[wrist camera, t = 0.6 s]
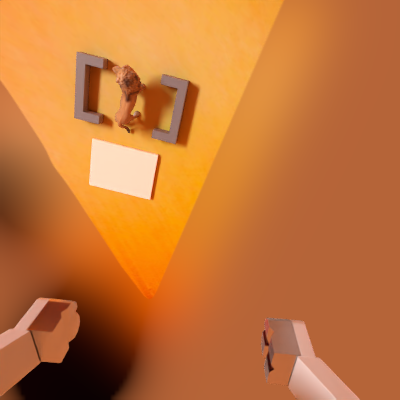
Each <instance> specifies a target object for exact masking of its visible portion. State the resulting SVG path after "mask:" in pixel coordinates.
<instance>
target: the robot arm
mask: <svg viewBox="0 0 400 400" xmlns="http://www.w3.org/2000/svg"><path fill="white" fill-rule="evenodd" d="M76 309H77V304H76V302H74V301H67V300H58V299H49V298H39V299H37V300H36V301H35V303H34V304H33V305H32V307H31V308H30V309H29V310H28V312H27V313H26V314H25V315H24V317H23V318H22V319H21V320H20V322H19V323H18V324H17V326H16V327H15V328H14V329H9V330H7V331H6V332H4V333H2V334H1V335H0V396H1V395H3V394H4V393H5V392H6V391H7V390H9V389H10V388H11V387H12V386H13V385H14V384H16V383H17V382H18V381H19V380H20V379H22V378H23V377H24V376H25V375H26V374H27V373H29V372H30V371H31V370H32V369H33V368H35V367H36V366H37V365H38V364H39V363H40V361H41V362H56V363H61V362H62V360H63V358H64V356H65V354H66V352H67V351H68V349H69V345H68V342H69V341H71V340H72V339H74V337H75V335H76V334H77V332H78V328H79V324H80V318H79V314H77V313H76V312H75V311H76ZM264 325H265V330H264V331H263V333H262V343H261V344H262V355H263V357H264V358H265V359H266V360H265V365H264V369H265V376H266V382H267V383H271V384H279V385H286V386H288V387H289V389H290V391H291V392H292V393H293V395H294V396H295V398H296V399H297V400H360V399H359V398H358V397H357V396H356V395H355V394H354V393H353V392H352V391H351V390H350V389H349V388H348V387H347V386H346V385H345V384H344V383H343V382H342V381H341V380H340V379H339V378H338V376H337V375H335V373H334V372H333V371H332V370H331V369H330V368H329V367H328V366H327V365H326V364H325V363H324V362H323V361H322V360H321V359H320V358H316V357H315V354H314V350H313V347H312V345H311V341H310V338H309V335H308V332H307V329H306V326H305V323H304V322H303V321H297V320H287V319H274V318H266V320H265V324H264Z"/></svg>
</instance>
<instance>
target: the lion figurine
mask: <svg viewBox="0 0 400 400" xmlns="http://www.w3.org/2000/svg"><path fill="white" fill-rule="evenodd" d="M113 71H114V72H115V73H116V77H117V78H116V82H117V83H118V84H119V85H120V87H121V90H122V92H123V93H122V96H121V101H120V109H119V111H118V112H117V113H116V115H115V121H116V122H118V126H119V127H121V128H125V129H126V130H127V131H128V133H130V130H129V128H128V127H126V126H124V124H127V123H129V122H130V121H131V120H134V119H135V118H136V117H138V116H139V115H140V113H139V112H138V111H136V112H135V113H134V115H131V114H130V113H131V111H132V110H133V108H134V106H135V103H136V99H137V95H138V94H139V93H140V92H141V91H142V90H144V89H145V85H144V84H142V83H141V82H140V78H139V77H138V75H137V73H136V72H135V71H134V70H133V69H132V68H131V67H130V66H128V65H125V66H123V67H122V68H120V67H119V66H114V67H113ZM122 124H123V125H122Z"/></svg>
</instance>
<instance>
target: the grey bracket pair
mask: <svg viewBox="0 0 400 400" xmlns="http://www.w3.org/2000/svg"><path fill="white" fill-rule="evenodd" d="M107 64H108V59H105V58H102V57H98V56H94V55H90V54H87V53H83V52H77V59H76V86H75V113H74V118H76V119H80V120H84V121H88V122H92V123H96V124H100V123H102V122H103V114H100V113H97V112H93V111H89V110H88V94H89V76H90V65H91V66H95V67H98V68H102V69H107ZM161 84H162V85H166V86H170V87H173V88H177V89H178V90H177V95H176V100H175V105H174V111H173V116H172V121H171V126H170V131H166V130H162V129H158V128H155V129H153V133H152V138H154V139H158V140H162V141H166V142H170V143H174V144H176V142H177V138H178V133H179V129H180V124H181V119H182V114H183V109H184V105H185V100H186V95H187V90H188V85H189V81H187V80H184V79H180V78H176V77H173V76H169V75H165V74H163V75H162V79H161Z"/></svg>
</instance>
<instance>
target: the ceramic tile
mask: <svg viewBox="0 0 400 400" xmlns="http://www.w3.org/2000/svg"><path fill="white" fill-rule="evenodd" d="M158 155H159V154H155V153H151V152H147V151H143V150H139V149H135V148H131V147H127V146H123V145H119V144H116V143H112V142H108V141H104V140H100V139H96V138H93V139H92V152H91V166H90V181H89V185H93V186H97V187H101V188H105V189H109V190H113V191H117V192H121V193H125V194H129V195H133V196H137V197H141V198H145V199H149V200H150V199H151V193H152V188H153V182H154V177H155V171H156V166H157V160H158Z"/></svg>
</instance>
